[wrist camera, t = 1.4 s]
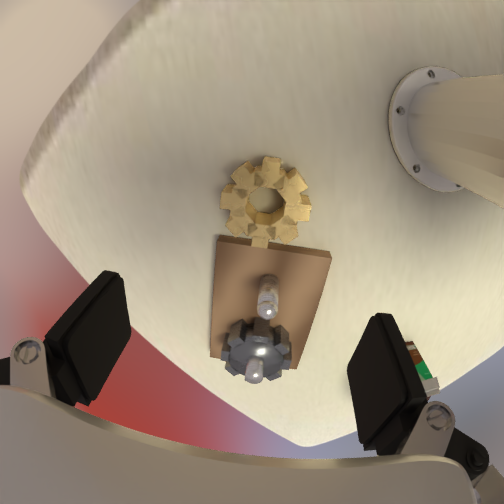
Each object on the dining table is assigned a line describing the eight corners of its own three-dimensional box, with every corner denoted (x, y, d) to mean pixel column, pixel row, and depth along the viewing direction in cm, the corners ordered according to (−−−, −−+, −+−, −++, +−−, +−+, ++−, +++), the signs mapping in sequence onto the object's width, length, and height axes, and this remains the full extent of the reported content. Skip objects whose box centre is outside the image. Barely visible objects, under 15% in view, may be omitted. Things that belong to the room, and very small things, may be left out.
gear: (297, 322, 30) (299, 359, 25) (283, 366, 33) (282, 401, 28) (227, 312, 30) (218, 348, 25) (223, 358, 34) (215, 392, 29)
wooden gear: (313, 164, 24) (318, 170, 21) (299, 239, 27) (301, 253, 24) (231, 152, 24) (224, 156, 21) (223, 227, 28) (217, 241, 25)
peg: (280, 275, 28) (279, 308, 23) (276, 290, 28) (275, 325, 24) (261, 272, 28) (257, 305, 23) (259, 287, 28) (254, 322, 24)
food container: (375, 335, 32) (395, 398, 23) (416, 332, 32) (442, 390, 23) (353, 392, 37) (362, 447, 28) (389, 389, 37) (402, 440, 28)
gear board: (329, 251, 28) (332, 258, 26) (296, 360, 35) (296, 369, 33) (220, 234, 28) (216, 240, 27) (212, 348, 35) (209, 356, 34)
